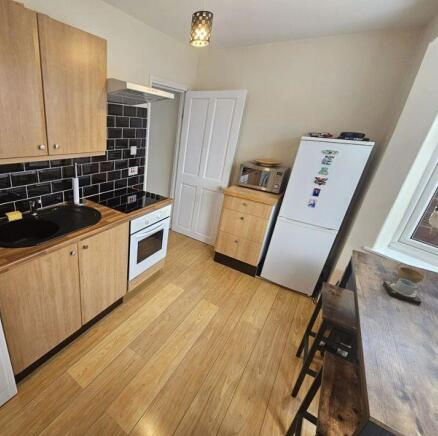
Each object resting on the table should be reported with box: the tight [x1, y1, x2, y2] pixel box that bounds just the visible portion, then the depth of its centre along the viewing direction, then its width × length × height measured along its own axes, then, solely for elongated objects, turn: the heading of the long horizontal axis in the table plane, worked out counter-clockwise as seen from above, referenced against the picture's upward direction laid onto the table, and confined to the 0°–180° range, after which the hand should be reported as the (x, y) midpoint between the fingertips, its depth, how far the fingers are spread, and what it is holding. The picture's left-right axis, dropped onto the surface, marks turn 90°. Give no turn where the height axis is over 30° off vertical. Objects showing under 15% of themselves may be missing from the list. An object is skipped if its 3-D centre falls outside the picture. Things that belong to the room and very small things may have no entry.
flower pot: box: [396, 266, 426, 285], centre depth 127 cm, size 10×10×7 cm
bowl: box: [394, 278, 418, 294], centre depth 116 cm, size 7×7×4 cm
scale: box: [382, 280, 423, 306], centre depth 118 cm, size 11×11×3 cm
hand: (436, 238), depth 117 cm, fingers open, 8 cm apart
